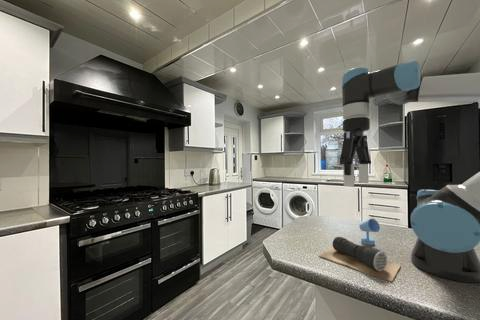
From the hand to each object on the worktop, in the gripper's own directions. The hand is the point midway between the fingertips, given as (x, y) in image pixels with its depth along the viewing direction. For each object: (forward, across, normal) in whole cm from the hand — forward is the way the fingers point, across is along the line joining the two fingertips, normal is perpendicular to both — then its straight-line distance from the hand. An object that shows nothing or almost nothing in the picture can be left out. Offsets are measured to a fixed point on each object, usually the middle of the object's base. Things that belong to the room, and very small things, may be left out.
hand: (356, 184), depth 65 cm
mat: (+24, 0, 0) cm, 25 cm away
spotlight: (+25, -19, -2) cm, 31 cm away
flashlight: (+24, 0, 0) cm, 24 cm away
